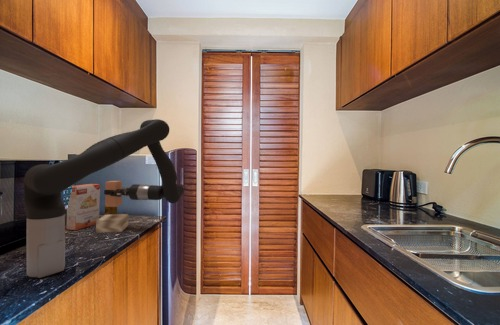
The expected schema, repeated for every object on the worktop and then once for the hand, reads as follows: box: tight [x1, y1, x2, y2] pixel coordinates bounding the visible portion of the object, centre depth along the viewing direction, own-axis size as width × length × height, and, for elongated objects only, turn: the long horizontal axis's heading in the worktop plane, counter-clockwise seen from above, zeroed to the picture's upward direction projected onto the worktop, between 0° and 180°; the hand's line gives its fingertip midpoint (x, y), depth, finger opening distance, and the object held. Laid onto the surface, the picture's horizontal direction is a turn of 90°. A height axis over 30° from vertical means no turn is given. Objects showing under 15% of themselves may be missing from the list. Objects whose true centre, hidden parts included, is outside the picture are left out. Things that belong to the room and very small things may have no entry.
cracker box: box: [65, 183, 101, 231], centre depth 122 cm, size 14×6×21 cm, turn 168°
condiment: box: [104, 201, 118, 215], centre depth 135 cm, size 7×8×12 cm
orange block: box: [105, 180, 123, 208], centre depth 119 cm, size 5×5×12 cm
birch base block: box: [95, 213, 129, 234], centre depth 119 cm, size 11×11×6 cm
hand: (108, 191), depth 119 cm, fingers closed on orange block, 5 cm apart
